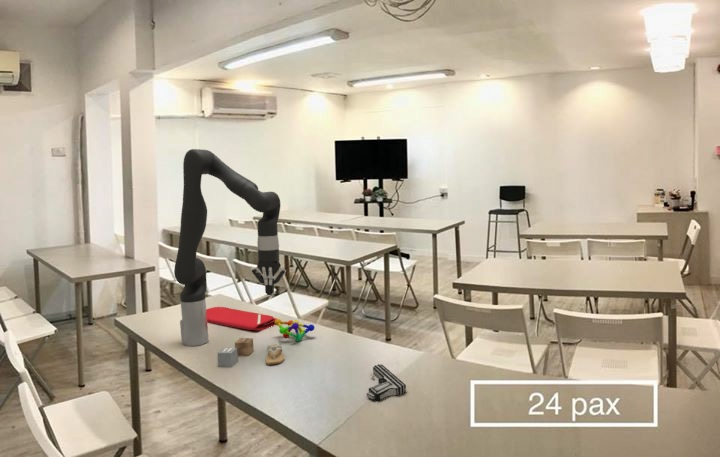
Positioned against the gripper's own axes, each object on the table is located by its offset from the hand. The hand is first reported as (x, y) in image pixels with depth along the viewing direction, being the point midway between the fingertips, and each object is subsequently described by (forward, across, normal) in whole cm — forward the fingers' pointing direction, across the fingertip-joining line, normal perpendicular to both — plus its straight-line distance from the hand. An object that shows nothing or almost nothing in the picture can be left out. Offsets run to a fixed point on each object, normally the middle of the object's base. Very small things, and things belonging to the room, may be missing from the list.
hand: (269, 294), depth 187 cm
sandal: (+22, +3, -6) cm, 23 cm away
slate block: (+22, -11, -13) cm, 28 cm away
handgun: (+21, +43, -26) cm, 54 cm away
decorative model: (+22, +4, +14) cm, 26 cm away
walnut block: (+22, -9, -3) cm, 24 cm away
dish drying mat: (+23, -29, +34) cm, 50 cm away
